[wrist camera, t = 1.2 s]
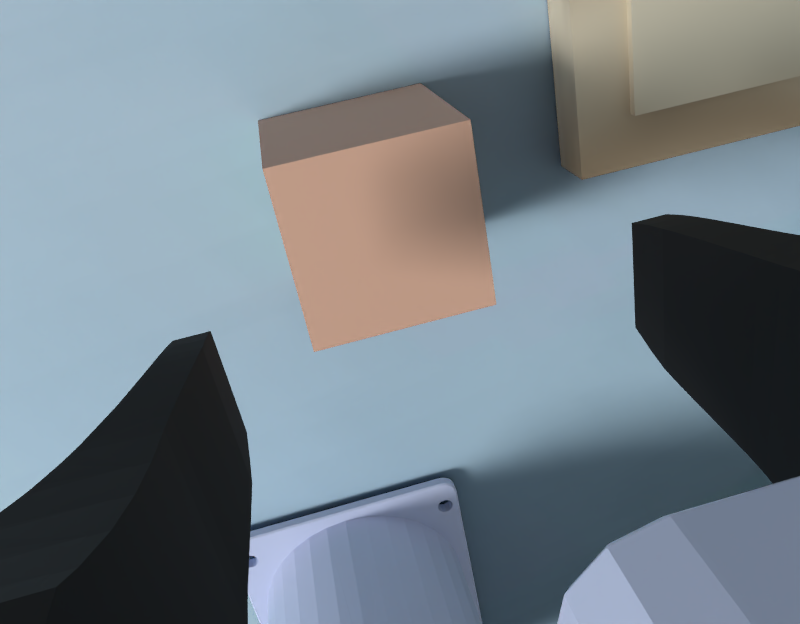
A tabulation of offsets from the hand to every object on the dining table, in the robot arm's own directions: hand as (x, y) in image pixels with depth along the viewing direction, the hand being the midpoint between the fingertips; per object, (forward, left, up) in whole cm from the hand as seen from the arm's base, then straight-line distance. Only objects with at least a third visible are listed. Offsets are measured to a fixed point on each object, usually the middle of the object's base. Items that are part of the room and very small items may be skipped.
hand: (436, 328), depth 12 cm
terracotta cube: (0, 0, -10) cm, 10 cm away
